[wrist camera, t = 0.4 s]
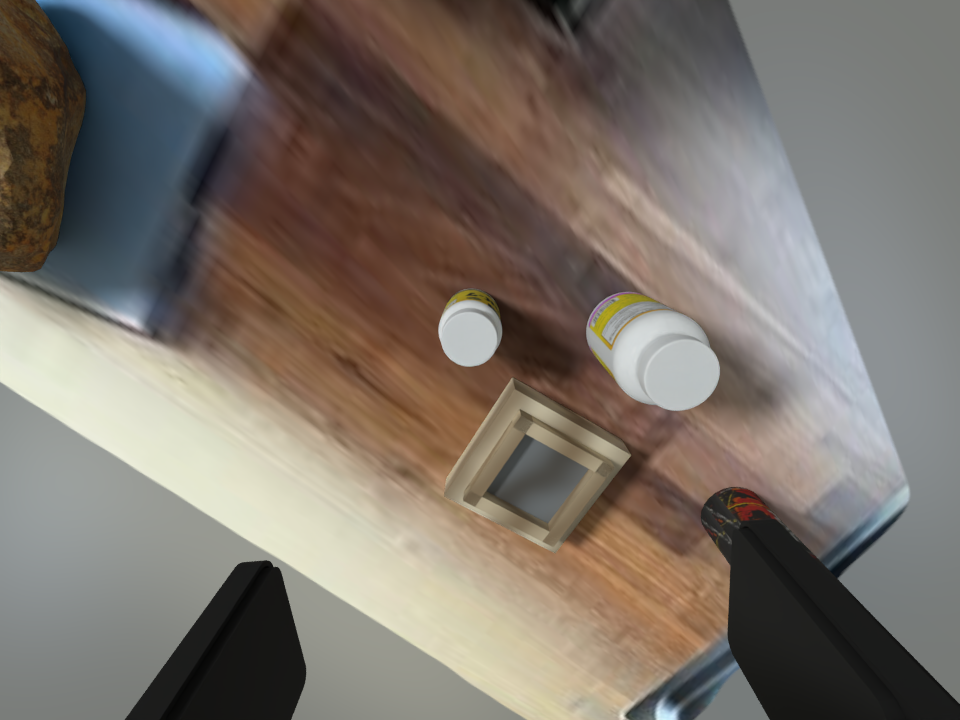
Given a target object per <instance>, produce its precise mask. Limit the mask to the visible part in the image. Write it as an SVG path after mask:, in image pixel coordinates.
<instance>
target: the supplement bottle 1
mask: <svg viewBox="0 0 960 720" xmlns="http://www.w3.org/2000/svg"><path fill="white" fill-rule="evenodd" d="M439 338H440V341H441V344H442V347H443V350H444V352H445V353H446V355H447V356H448V357H449V358H450V359H451V360H452V361H454V362H455V363H457V364H459V365H462V366H470V367H471V366H478V365H480V364H483V363H485V362H486V361H487V360H489V359H490V358H491V357H492V355H493V354H494V352H495V350H496V349H497V348H498V346H499V344H500V341H501V338H502V323H501V318H500V312H499V308H498V306H497V304H496V302H495V300H494V299H493V298H492V297H491V296H490V295H489V294H487V293H486V292H484V291H481V290H478V289H465V290H462V291H460V292H458V293H456V294H455V295H454V296H452V297H451V299H450V300H449V301H448V303H447V305H446V307H445V310H444V312H443V315H442V317H441V320H440V323H439Z"/></svg>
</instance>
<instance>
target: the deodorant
mask: <svg viewBox="0 0 960 720" xmlns="http://www.w3.org/2000/svg"><path fill="white" fill-rule="evenodd" d="M769 518H772V519H775V520H777V521H778V522H779V523H780V524H781V525H782V526H783V527H784V528H785V529H786V530H787V531H788V532H789V533H790V534H791V535H792V536H793V537H794V538H795V539H796V540H797V541H798V542H799V544H800V545H801V546H802V547H803V548H804V549H805V550H806V551H807V552H808V553H809V554H810V555H811V556H812V557H813V558H814V559H815V560H816V561H817V562H818V563H819V564H820V565H821V566H822V567H823V568H824V569H825V570H826V571H827V572H828V573H829V574H830V575H831V576H832V577H833V578H834V579H835V580H836V581H837V583H838V584H839V585H840V586H841V587H842V588H844V589H846V590H847V588H846V587H844V585H842V583H841V582H840V581H839V580H838V579H837V578H836V577H835V576H834V575H833V574H832V573H831V572H830V571H829V570H828V569H827V568H826V567H825V566H824V565H823V564H822V563H821V562H820V561H819V559H818V558H817V557H816V556H815V555H814V554H813V553H812V552H811V551H810V550H809V549H808V548H807V547H806V546H805V545H804V544H803V543H802V542H801V541H800V540H799V539H798V538H797V537H796V536H795V535H794V534H793V533H792V531H791V530H790V529H789V528H788V527H787V526H786V525H785V524H784V523H783V522H782V521H781V520H780V519H779V518H778V517H777V516H776V515H775V514H774V513H773V512H772V511H771V510H770V509H769V508H768V507H767V506H766V505H765V503H764V502H763V501H762V500H761V499H760V498H759V497H758V496H757V495H756V494H755V493H754V492H752V491H750V490H748V489H746V488H741V487H730V488H726V489H723V490H721V491H719V492H717V493H715V494H714V495H713V496H711V497H710V498H709V499H708V500H707V502H706V503H705V504H704V507H703V509H702V512H701V521H702V525H703V527H704V528H705V530H706V531H707V533H708V534H709V536H710V537H711V538H712V540H713V541H714V543H715V544H716V546H717V547H718V548H719V550H720V551H721V553H722V554H723V556H724V557H725V558H726V560H727V561H728V563H729V564H730V566H731V547H732V533H733V530H734V529H740V524H741V522H742V521H745V520H757V519H769ZM847 591H848V590H847ZM848 592H849V591H848ZM849 593H850V592H849ZM850 594H851V593H850Z"/></svg>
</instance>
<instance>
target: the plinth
mask: <svg viewBox="0 0 960 720" xmlns="http://www.w3.org/2000/svg"><path fill="white" fill-rule="evenodd" d="M630 456H631V454H630V452H629V451H628V449H627V447H626V446H625V444H624V443H623V441H622V439H620V438H618V437H616V436H615V435H613V434H611V433H609V432H608V431H606V430H604V429H602V428H601V427H599V426H597V425H595V424H594V423H592V422H590V421H588V420H587V419H585V418H583V417H581V416H580V415H578V414H576V413H574V412H573V411H571V410H569V409H567V408H566V407H564V406H562V405H560V404H559V403H557V402H555V401H553V400H552V399H550V398H548V397H546V396H545V395H543V394H541V393H539V392H538V391H536V390H534V389H532V388H531V387H529V386H527V385H525V384H524V383H522V382H520V381H518V380H517V379H515V378H513V377H512V379H511V380H510V382H509V383H508V385H507V386H506V388H505V390H504V391H503V393H502V394H501V396H500V397H499V399H498V400H497V402H496V403H495V405H494V406H493V408H492V409H491V411H490V412H489V414H488V415H487V417H486V419H485V420H484V422H483V423H482V425H481V426H480V428H479V429H478V431H477V432H476V434H475V435H474V437H473V438H472V440H471V441H470V443H469V444H468V446H467V447H466V449H465V451H464V452H463V454H462V455H461V457H460V458H459V460H458V461H457V463H456V464H455V466H454V467H453V469H452V470H451V472H450V473H449V475H448V476H447V478H446V484H445V492H444V497H446V498H448V499H450V500H452V501H454V502H456V503H458V504H460V505H462V506H464V507H466V508H468V509H470V510H472V511H474V512H476V513H478V514H480V515H481V516H483V517H485V518H487V519H489V520H491V521H493V522H495V523H497V524H499V525H501V526H503V527H505V528H507V529H509V530H511V531H513V532H515V533H517V534H519V535H520V536H522V537H524V538H526V539H528V540H530V541H532V542H534V543H536V544H538V545H540V546H542V547H544V548H546V549H548V550H550V551H552V552H554V553H556V552H557V550H558V549H559V548H560V547H561V545H562V544H563V543H564V541H565V540H566V539H567V537H568V536H569V535H570V534H571V532H572V531H573V530H574V528H575V527H576V526H577V525H578V523H579V522H580V521H581V519H582V518H583V517H584V516H585V514H586V513H587V512H588V510H589V509H590V508H591V506H592V505H593V504H594V503H595V501H596V500H597V499H598V497H599V496H600V495H601V494H602V492H603V491H604V490H605V488H606V487H607V486H608V485H609V483H610V482H611V481H612V479H613V478H614V477H615V475H616V474H617V473H618V472H619V470H620V469H621V468H622V466H623V465H624V464H625V463H626V461H627V460H628V459H629V457H630Z"/></svg>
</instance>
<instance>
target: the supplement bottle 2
mask: <svg viewBox="0 0 960 720" xmlns="http://www.w3.org/2000/svg"><path fill="white" fill-rule="evenodd" d="M586 336H587V341H588V345H589V347H590V349H591V351H592V352H593V354H594V355H595V357H596V358H597V359H598V360H599V361H600V363H601V364H602V365H603V366H604V368H605V369H606V370H607V371H608V372H609V374H610V375H611V376H612V377H613V379H614V380H615V381H616V382H617V384H618V385H619V386H620V387H621V388H622V390H623V391H624V392H625V393H626V394H628V395H629V396H630V397H632V398H633V399H635V400H637V401H639V402H642V403H646V404H650V405H658V406H660V407H662V408H664V409H668V410H672V411H681V410H687V409H690V408H693V407H696V406H698V405H699V404H701V403H702V402H704V401H705V400H706V399H707V398H708V397H709V396H710V395H711V394H712V393H713V391H714V390H715V388H716V386H717V384H718V380H719V376H720V366H719V361H718V359H717V356H716V355H715V353H714V352H713V350H712V349H711V348H710V344H709V341H708V338H707V336H706V334H705V332H704V331H703V329H702V328H701V327H700V326H699V325H698V324H697V323H696V322H695V321H694V320H692V319H691V318H689V317H688V316H686V315H684V314H682V313H680V312H677V311H675V310H673V309H671V308H669V307H667V306H665V305H663V304H661V303H659V302H657V301H655V300H653V299H651V298H649V297H647V296H645V295H642V294H639V293H635V292H622V293H617V294H614V295H612V296H609V297H608V298H606V299H604V300H603V301H602V302H600V303H599V304H598V305H597V306H596V308H595V309H594V310H593V312H592V313H591V315H590V317H589V320H588V323H587V329H586Z"/></svg>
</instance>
